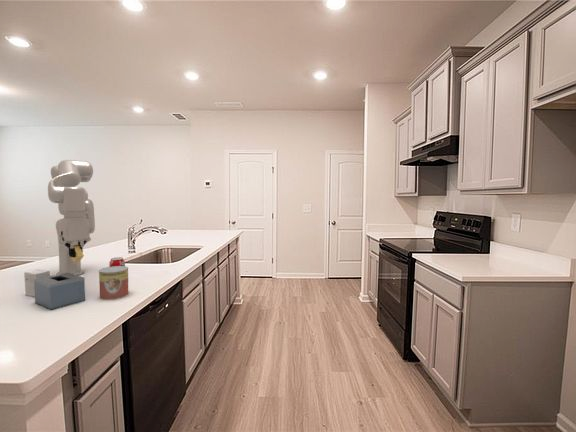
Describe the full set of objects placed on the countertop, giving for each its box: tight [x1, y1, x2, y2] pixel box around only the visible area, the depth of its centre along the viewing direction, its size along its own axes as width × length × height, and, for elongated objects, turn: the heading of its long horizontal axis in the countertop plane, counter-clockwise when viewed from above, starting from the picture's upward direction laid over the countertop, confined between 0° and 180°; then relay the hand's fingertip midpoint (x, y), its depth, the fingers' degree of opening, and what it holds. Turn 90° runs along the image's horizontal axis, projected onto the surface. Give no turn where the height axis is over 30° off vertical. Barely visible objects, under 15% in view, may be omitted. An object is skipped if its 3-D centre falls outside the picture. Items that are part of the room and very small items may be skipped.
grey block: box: [34, 273, 86, 311], centre depth 119 cm, size 14×12×10 cm
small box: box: [23, 269, 51, 298], centre depth 127 cm, size 8×6×10 cm
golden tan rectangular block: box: [68, 245, 85, 263], centre depth 126 cm, size 5×2×6 cm
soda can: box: [108, 256, 126, 267], centre depth 149 cm, size 7×7×12 cm
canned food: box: [98, 265, 130, 301], centre depth 128 cm, size 11×11×12 cm
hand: (75, 256), depth 126 cm, fingers closed on golden tan rectangular block, 2 cm apart
